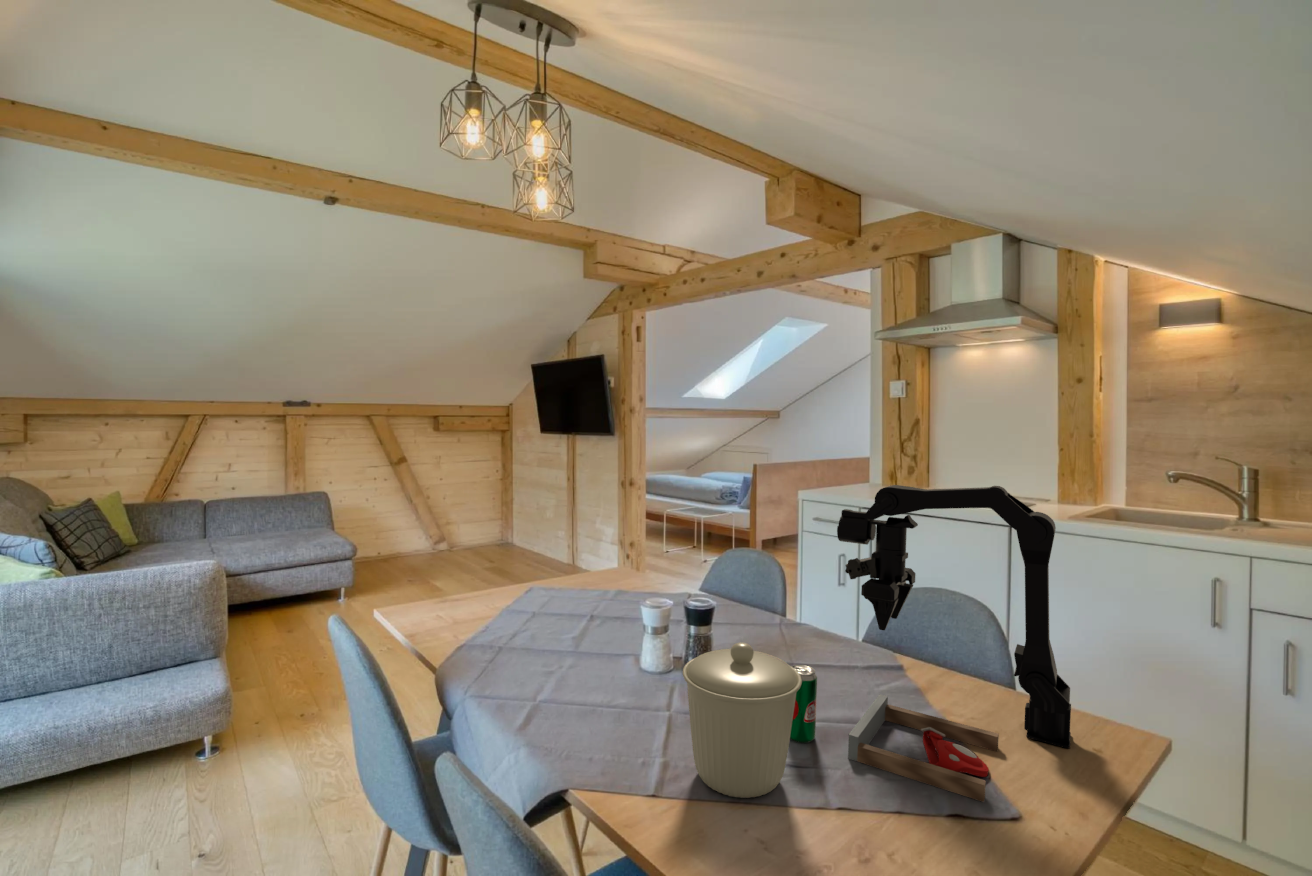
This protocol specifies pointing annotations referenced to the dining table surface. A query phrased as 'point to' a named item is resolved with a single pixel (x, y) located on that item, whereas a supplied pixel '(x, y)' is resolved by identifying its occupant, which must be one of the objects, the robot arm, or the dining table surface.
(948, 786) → the walnut channel
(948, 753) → the tracker holder
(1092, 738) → the dining table surface
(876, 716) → the end stop
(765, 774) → the canister
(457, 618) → the dining table surface
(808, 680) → the soda can
